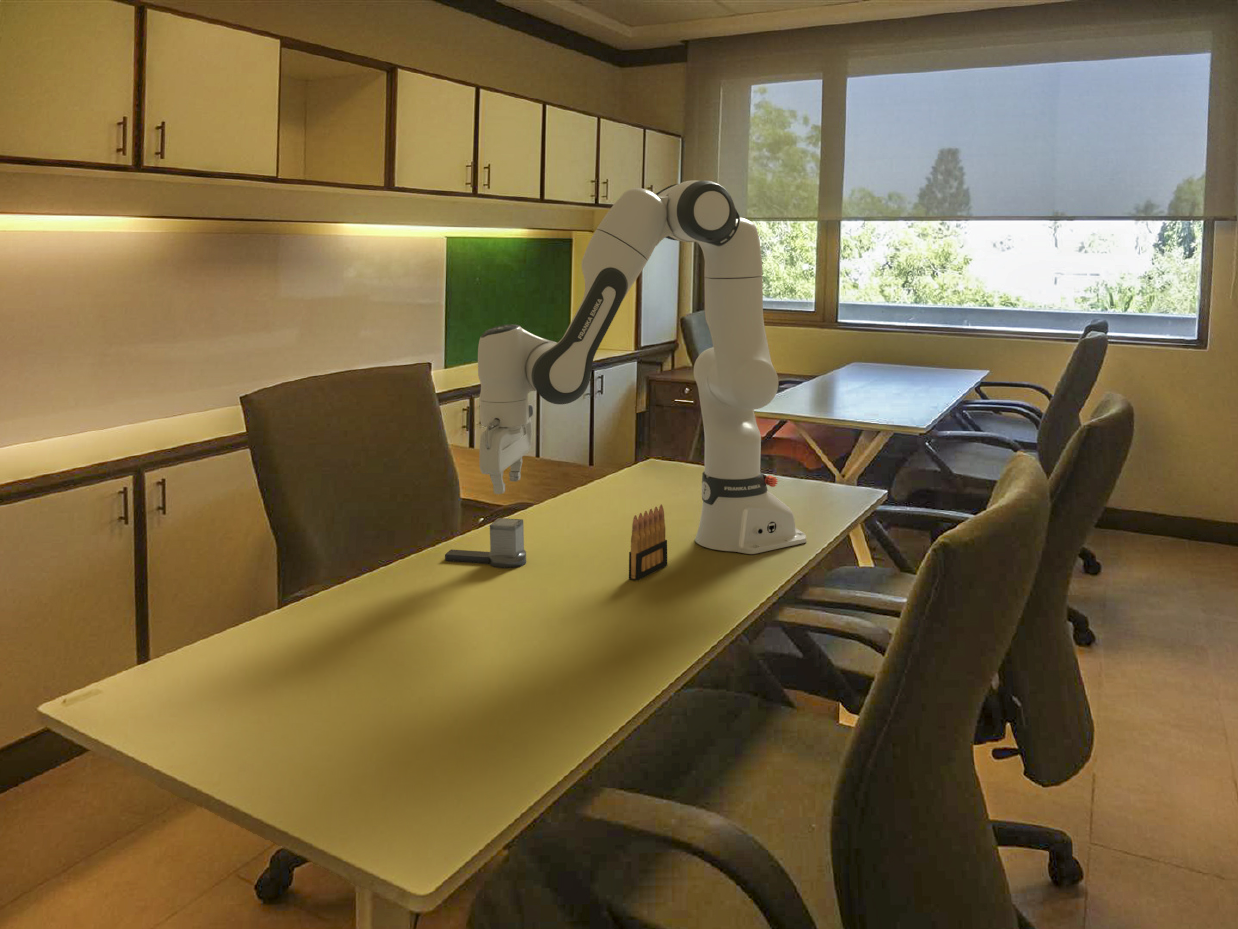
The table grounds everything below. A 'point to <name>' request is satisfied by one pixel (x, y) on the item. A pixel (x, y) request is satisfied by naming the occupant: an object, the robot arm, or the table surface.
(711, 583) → the table surface
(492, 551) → the socket
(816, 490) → the table surface
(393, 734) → the table surface
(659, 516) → the ammunition clip
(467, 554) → the ratchet
